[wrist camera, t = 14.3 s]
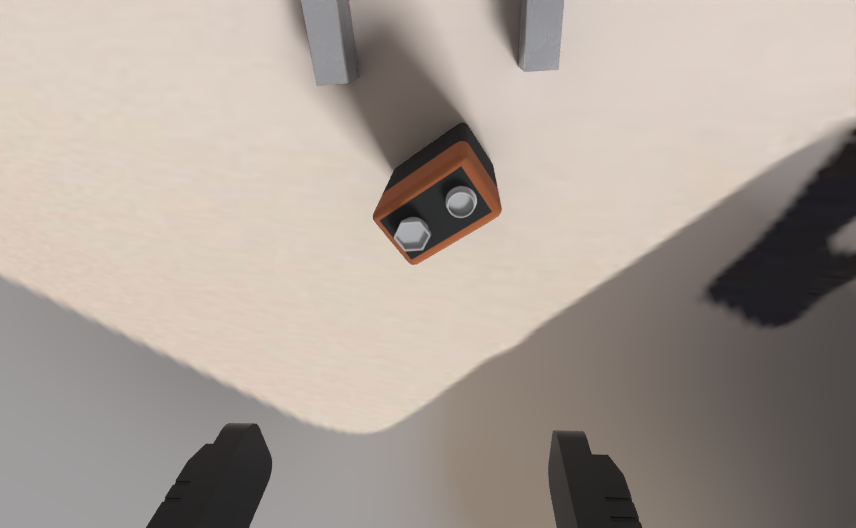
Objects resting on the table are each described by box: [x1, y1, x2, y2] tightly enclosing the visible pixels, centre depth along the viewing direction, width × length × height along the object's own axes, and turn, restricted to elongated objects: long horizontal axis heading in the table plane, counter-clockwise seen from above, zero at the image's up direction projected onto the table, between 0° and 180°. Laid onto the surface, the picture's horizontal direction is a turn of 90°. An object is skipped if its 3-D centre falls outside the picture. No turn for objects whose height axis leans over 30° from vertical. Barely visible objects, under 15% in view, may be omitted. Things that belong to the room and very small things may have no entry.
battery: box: [373, 123, 502, 265], centre depth 28 cm, size 4×7×10 cm, turn 125°
